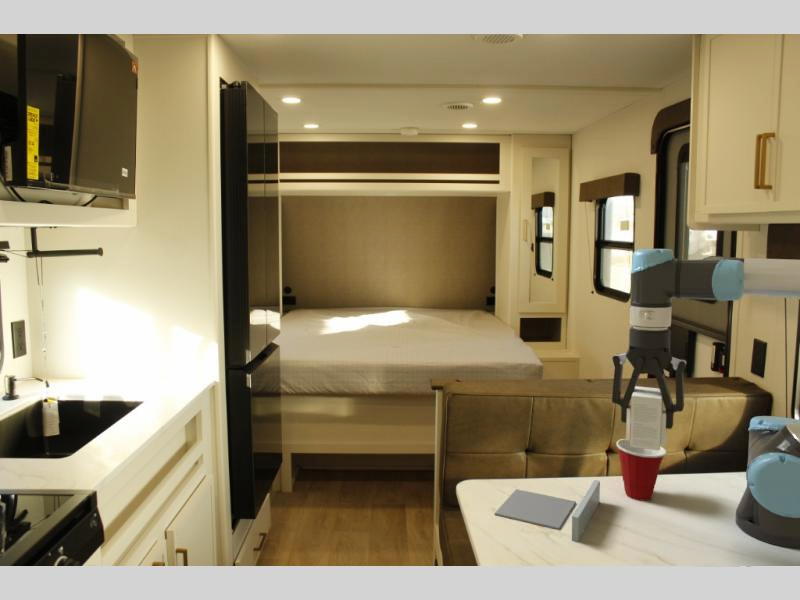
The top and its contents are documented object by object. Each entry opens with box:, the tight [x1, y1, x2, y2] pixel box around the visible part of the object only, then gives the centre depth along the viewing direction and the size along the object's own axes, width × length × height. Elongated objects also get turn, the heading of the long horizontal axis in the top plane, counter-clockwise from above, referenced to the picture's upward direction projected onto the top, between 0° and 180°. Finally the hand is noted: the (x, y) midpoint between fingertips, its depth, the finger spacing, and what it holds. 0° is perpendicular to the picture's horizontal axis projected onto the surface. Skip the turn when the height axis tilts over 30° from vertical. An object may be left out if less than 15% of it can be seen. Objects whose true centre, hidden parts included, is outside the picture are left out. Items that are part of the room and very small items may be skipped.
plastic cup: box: [616, 438, 667, 501], centre depth 137 cm, size 11×11×12 cm
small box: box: [630, 385, 664, 450], centre depth 119 cm, size 8×6×10 cm
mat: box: [494, 488, 577, 531], centre depth 132 cm, size 14×14×1 cm
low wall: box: [571, 479, 601, 543], centre depth 126 cm, size 1×20×5 cm, turn 150°
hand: (646, 440), depth 120 cm, fingers closed on small box, 6 cm apart
